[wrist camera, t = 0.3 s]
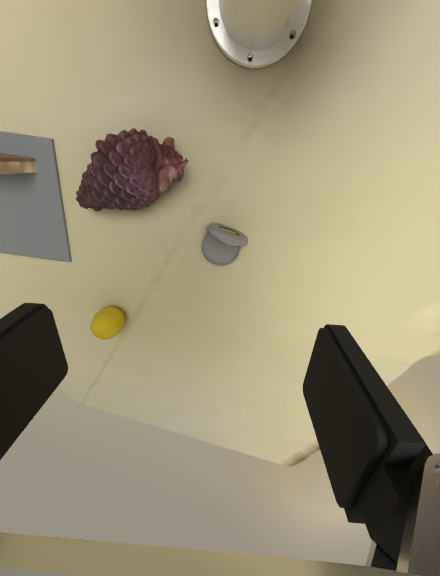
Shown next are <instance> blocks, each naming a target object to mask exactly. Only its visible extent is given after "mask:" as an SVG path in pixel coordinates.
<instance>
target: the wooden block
mask: <svg viewBox="0 0 440 576" xmlns="http://www.w3.org/2000/svg"><path fill="white" fill-rule="evenodd" d="M33 172H38V171H37V165H36V160H35V158H30V157H23V156H16V155H9V154H2V153H0V174H15V173H33Z"/></svg>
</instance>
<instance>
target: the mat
mask: <svg viewBox="0 0 440 576" xmlns="http://www.w3.org/2000/svg"><path fill="white" fill-rule="evenodd" d="M0 153H2V154H9V155H16V156H23V157H30V158H35V160H36V165H37V171H38V172H33V173H15V174H0V253H6V254H13V255H21V256H28V257H35V258H43V259H50V260H57V261H65V262H71V254H70V247H69V241H68V234H67V227H66V221H65V214H64V207H63V201H62V194H61V187H60V181H59V174H58V167H57V161H56V154H55V147H54V141H53V139H49V138H42V137H35V136H28V135H21V134H15V133H8V132H1V131H0Z"/></svg>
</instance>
